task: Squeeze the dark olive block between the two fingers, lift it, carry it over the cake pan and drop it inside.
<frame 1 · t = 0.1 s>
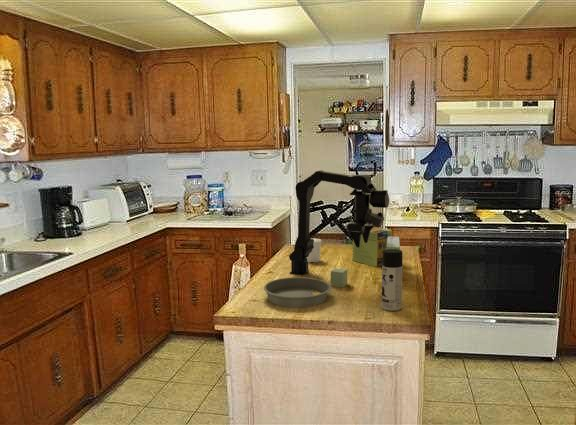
hand: (362, 245, 204), 15 cm above the countertop, tool pointing down, fingers open, 9 cm apart
protein box: (372, 262, 235), on the countertop
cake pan: (297, 298, 186), on the countertop
white cup: (312, 261, 239), on the countertop
snack box: (392, 277, 211), on the countertop
olive block: (339, 285, 200), on the countertop
spray can: (391, 308, 173), on the countertop
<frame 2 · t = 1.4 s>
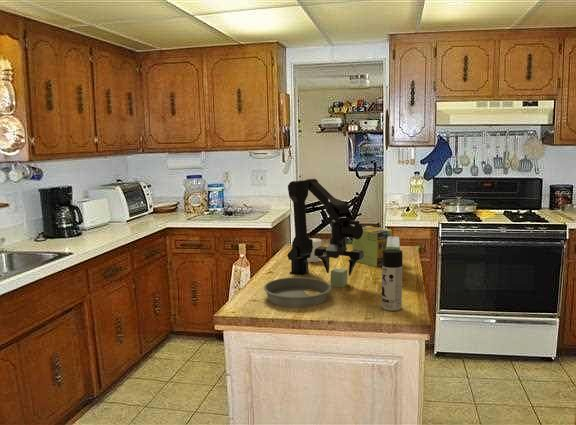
hand: (338, 274, 200), 4 cm above the countertop, tool pointing down, fingers open, 9 cm apart
nothing on the countertop moved.
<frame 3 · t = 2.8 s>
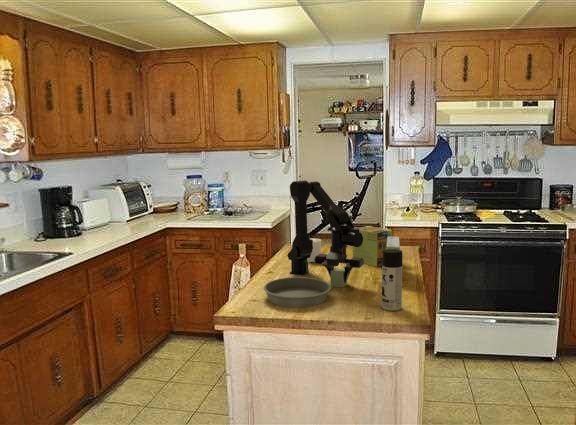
hand: (338, 281, 200), 1 cm above the countertop, tool pointing down, fingers closed on olive block, 5 cm apart
olive block: (338, 284, 200), on the countertop, touching gripper
everything else where it was.
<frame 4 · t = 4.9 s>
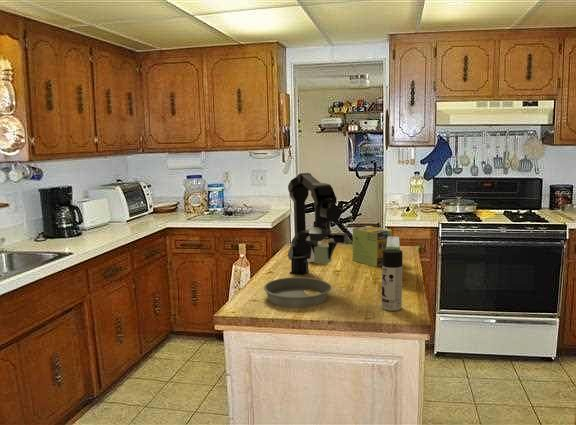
hand: (322, 258, 193), 12 cm above the countertop, tool pointing down, fingers closed on olive block, 5 cm apart
olive block: (323, 261, 193), point 11 cm above the countertop, touching gripper
everything else where it was.
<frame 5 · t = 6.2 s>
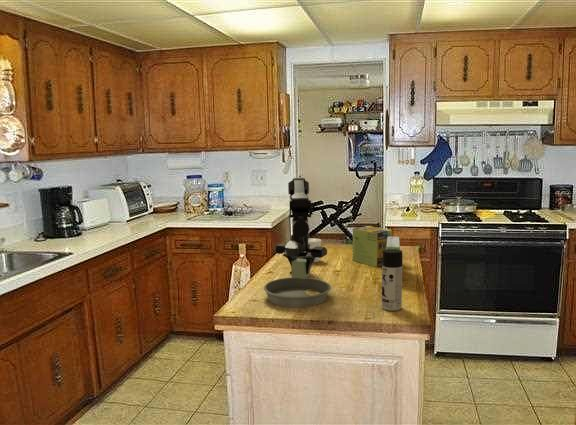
hand: (300, 273, 187), 9 cm above the countertop, tool pointing down, fingers closed on olive block, 5 cm apart
olive block: (301, 276, 187), point 7 cm above the countertop, touching gripper
everything else where it was.
when the fingers open (7 cm above the countertop, at t = 7.2 s): olive block drops 2 cm, resting on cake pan.
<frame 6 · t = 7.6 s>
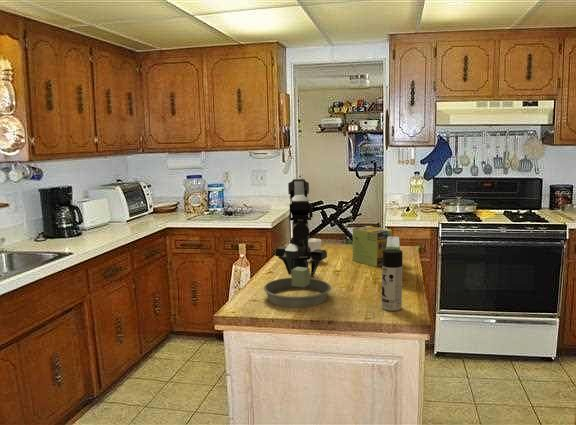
hand: (301, 275, 187), 7 cm above the countertop, tool pointing down, fingers open, 9 cm apart
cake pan: (297, 298, 186), on the countertop, touching olive block
olive block: (300, 284, 187), point 4 cm above the countertop, touching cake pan
everything else where it was.
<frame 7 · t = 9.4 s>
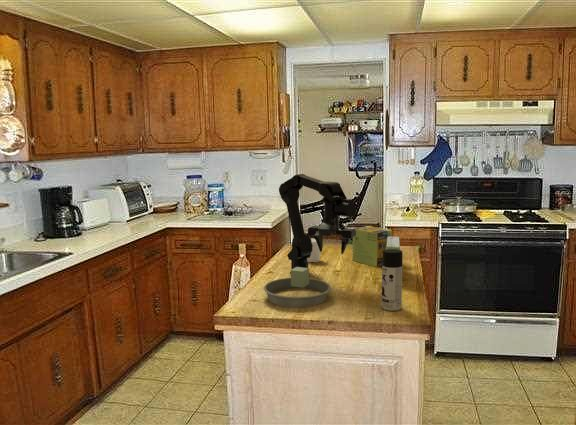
hand: (331, 252, 203), 12 cm above the countertop, tool pointing down, fingers open, 9 cm apart
nothing on the countertop moved.
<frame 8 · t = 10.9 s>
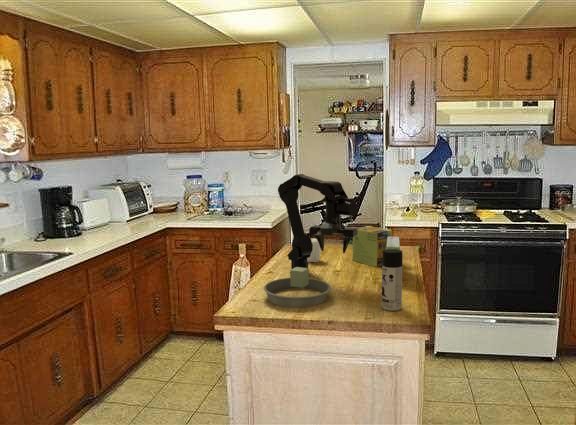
hand: (333, 252, 204), 12 cm above the countertop, tool pointing down, fingers open, 9 cm apart
nothing on the countertop moved.
at the end: olive block 1.8 cm from the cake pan (horizontally); olive block point 4.1 cm above the countertop; the gripper is holding nothing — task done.
